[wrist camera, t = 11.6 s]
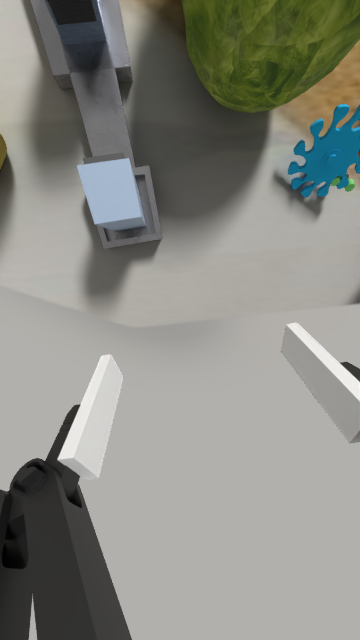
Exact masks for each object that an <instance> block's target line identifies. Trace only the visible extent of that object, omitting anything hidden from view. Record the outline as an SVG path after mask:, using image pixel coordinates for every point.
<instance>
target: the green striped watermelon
mask: <svg viewBox="0 0 360 640" xmlns="http://www.w3.org/2000/svg"><path fill="white" fill-rule="evenodd" d="M182 5H183V10H184V15H185V25H186V41H187V52H188V55H189V57H190V60H191V62H192V64H193V67H194V69H195V72H196V74H197V77H198V78H199V80H200V81H201V82H202V84H203V85H204V87H205V88H206V89H207V91H208V92H209V93H210V94H211V95H212V96H213V97H214V98H215V100H216V101H217V102H218V103H219V104H221V105H223V106H225V107H227V108H230V109H232V110H234V111H240V112H247V113H255V112H262V111H269V110H272V109H274V108H277V107H279V106H281V105H284V104H286V103H288V102H290V101H291V100H293V99H294V98H296V97H298V96H299V95H301V94H302V93H304V92H305V91H307V90H308V89H309V88H311V87H312V86H313V85H315V84H316V83H317V82H319V81H320V80H321V79H322V78H324V77H325V76H326V75H328V74H329V73H330V72H332V71H333V70H334V68H335V67H336V66H337V65H338V64H339V63H340V61H341V60H342V59H343V58H344V57H345V56H346V55H347V53H348V52H349V51H350V50H351V49H352V48H353V46H354V45H355V44H356V43H357V42H358V41H359V39H360V0H182Z"/></svg>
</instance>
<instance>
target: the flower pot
mask: <svg viewBox="0 0 360 640" xmlns="http://www.w3.org/2000/svg"><path fill="white" fill-rule="evenodd" d="M6 155H7V147H6V143H5V141H4V139H3V137H2V135H1V134H0V170H1V167H2V165H3V162H4V160H5V158H6Z"/></svg>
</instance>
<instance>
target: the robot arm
mask: <svg viewBox="0 0 360 640" xmlns="http://www.w3.org/2000/svg"><path fill="white" fill-rule="evenodd" d="M281 352H282V354H283V355H284V356H285V358H286V359H287V361H288V362H289V363H290V364H291V366H292V367H293V368H294V370H295V371H296V373H297V374H298V375H299V377H300V378H301V379H302V381H303V382H304V383H305V385H306V386H307V387H308V389H309V390H310V391H311V393H312V394H313V395H314V397H315V398H316V399H317V400H318V402H319V403H320V405H321V406H322V407H323V408H324V410H325V411H326V413H327V414H328V415H329V417H330V418H331V419H332V421H333V422H334V423H335V424H336V426H337V427H338V429H339V430H340V431H341V433H342V434H343V435H344V437H345V438H346V439H347V441H348V442H349V443H355V442H360V369H359V368H357V367H355V366H353V365H352V364H350V363H348V362H343V363H339V362H338V361H337V360H336V359H335V358H334V357H333V356H332V355H331V354H330V353H328V352H327V351H326V350H325V349H324V348H323V347H322V346H321V345H320V344H319V343H318V342H317V341H316V340H315V339H313V337H312V336H310V335H309V334H308V333H307V332H306V331H305V330H304V329H303V328H302V327H301V326H300V325H299V324H298V323H292V324H286V328H285V333H284V338H283V344H282V349H281ZM122 382H123V376H122V374H121V372H120V370H119V368H118V366H117V364H116V363H115V360H114V359H113V357H112V355H111V354H109V355H104V356H101V358H100V360H99V363H98V365H97V368H96V370H95V372H94V375H93V377H92V380H91V382H90V384H89V386H88V389H87V391H86V393H85V396H84V398H83V400H82V403H81V404H80V405H75V406H74V407H72V409H71V410H70V411H69V413H68V414H67V416H66V418H65V420H64V422H63V425H62V426H61V428H60V432H59V433H58V435H57V437H56V439H55V441H54V443H53V446H52V448H51V450H50V452H49V454H48V456H47V458H46V460H45V461H43V460H42V459H39V458H36V459H32V460H30V461H29V462H27V463H26V464H25V465H24V466H22V467H21V468H20V469H19V471H18V472H17V473H16V475H15V476H14V478H13V480H12V482H11V484H10V490H9V491H7V492H6V491H3V490H0V640H28V639H29V628H30V616H31V604H32V593H33V601H34V611H35V621H36V630H37V640H132V639H131V636H130V633H129V630H128V627H127V624H126V621H125V618H124V615H123V612H122V609H121V607H120V603H119V600H118V598H117V594H116V592H115V589H114V586H113V583H112V580H111V577H110V574H109V571H108V568H107V565H106V562H105V559H104V556H103V553H102V550H101V548H100V545H99V542H98V539H97V536H96V533H95V530H94V527H93V524H92V521H91V518H90V515H89V512H88V509H87V506H86V504H85V501H84V498H83V495H82V492H81V489H80V486H79V485H78V481H79V478H80V477H82V478H83V479H84V480H88V479H95V478H99V475H100V471H101V466H102V463H103V459H104V455H105V450H106V446H107V442H108V438H109V434H110V430H111V426H112V422H113V417H114V414H115V410H116V406H117V401H118V398H119V394H120V390H121V386H122Z"/></svg>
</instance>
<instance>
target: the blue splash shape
mask: <svg viewBox="0 0 360 640" xmlns="http://www.w3.org/2000/svg"><path fill="white" fill-rule="evenodd" d="M348 111H349V106H348V105H347V104H342V105H337V107H336V108H335V110H334V116H333V121H332V124H331V126H330V128H329V130H328V131H327V133H326V134H325V135H324V136H322V137H319V136H318V135H319V133H320V131H321V130H322V128H323V120H322V118H321V119H319V120H317V121H315V122H314V123H312V124H311V126H310V131H311V134H312V135H313V136H314V145H313V147H312V149H311V150H309V151H305V142H304V141H303V140H301V141H299V143H298V144H297V145H296V146H295V148H294V154H295V155H301V156H303V157H304V158H305V160H306V163H305V164H304V165H303V166H299V165H298V164H297V162H295V161H294V162H291V164H290V166H289V169H288V174H289V175H292V174H294V173H297V172H303V173H306V174H307V175H306V176H305V177H304V178H298V177H296V178H294V179H292V188H293V190H295V189H297V188H298V187H299V186H300V185H302V184H303V183H305V182H308V181H314V182H313V184H311V185H309V186H305V187H304V188H303V189H302V190H301V192H302V195H303V196H305V197H308V196H309V195H310V194H311V192H312V190H313V189H314V188H315V187H316V186H317V185H319V184H320V183H322V182H326V183H325V185H323V186H322V187H320V188H319V189H318V191H317V194H318V196H326V195H327V194H328V189H329V186H330V184H331V185H332V186H337V189H341V188H343V187H345V191H347V192H348V191H351V190H352V189H353V188H354V187H355V184H354V181H353V180H352V179H349V180H348V178H349V175H348V172H347V169H348V167H349V166H350V165H351V164H353V163H356V166H355V170H356V173H358V174H359V173H360V158H359V157H358V156H357V153H358V151H359V150H360V139H359V137H360V127H357V128H354V129H351V127H352V125H353V124H354V122H355V121H357V120H359V119H360V105H359V106H358V108H357V110H356V112H355V113H354V115H353V116H352V117H351V119H350V120H349V121H348V122H346V123H345V124H344V125H343V126H342V127H340V128H336V125H337V123H338V122H339V121H340V120H341V119H343V118H344V117H345V116H346V114H347V113H348Z"/></svg>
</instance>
